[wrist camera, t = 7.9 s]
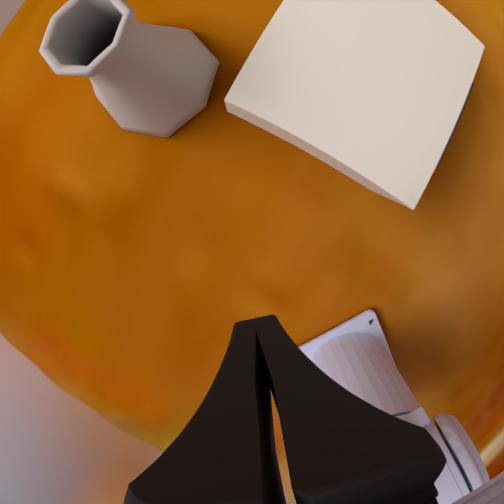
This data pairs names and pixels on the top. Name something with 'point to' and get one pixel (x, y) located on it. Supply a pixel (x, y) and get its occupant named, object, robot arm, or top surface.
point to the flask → (131, 64)
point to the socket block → (362, 87)
